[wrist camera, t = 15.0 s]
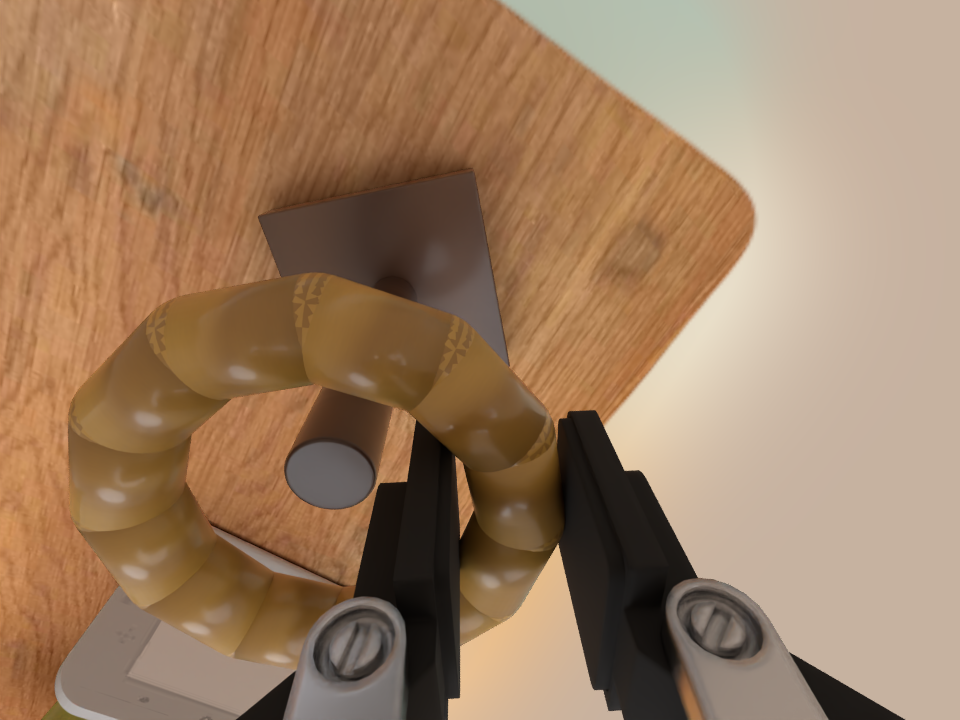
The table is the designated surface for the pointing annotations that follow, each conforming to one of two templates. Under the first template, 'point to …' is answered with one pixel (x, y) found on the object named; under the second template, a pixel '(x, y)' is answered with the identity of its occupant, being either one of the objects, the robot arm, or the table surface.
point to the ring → (283, 365)
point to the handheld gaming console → (162, 664)
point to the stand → (393, 269)
